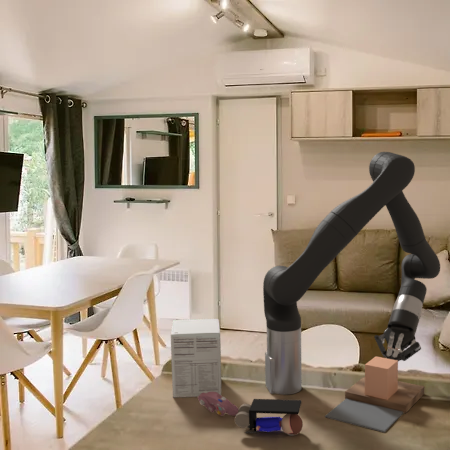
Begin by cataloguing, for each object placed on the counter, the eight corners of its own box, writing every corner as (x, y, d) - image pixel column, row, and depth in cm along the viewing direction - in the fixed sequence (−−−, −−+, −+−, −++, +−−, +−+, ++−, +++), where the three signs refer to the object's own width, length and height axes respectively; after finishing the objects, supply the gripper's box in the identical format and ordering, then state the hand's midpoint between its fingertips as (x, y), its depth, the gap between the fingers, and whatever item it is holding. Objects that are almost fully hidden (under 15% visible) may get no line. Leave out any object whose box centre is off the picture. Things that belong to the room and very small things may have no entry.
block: (375, 385, 169) (375, 356, 168) (397, 390, 166) (398, 360, 165) (364, 394, 164) (365, 364, 163) (387, 399, 160) (387, 369, 159)
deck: (366, 381, 177) (366, 374, 177) (424, 393, 168) (424, 386, 168) (345, 399, 166) (345, 391, 166) (405, 413, 157) (405, 405, 157)
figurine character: (236, 442, 147) (302, 440, 144) (232, 411, 146) (298, 408, 143) (242, 429, 154) (305, 427, 150) (237, 398, 153) (301, 396, 150)
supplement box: (222, 396, 170) (220, 332, 167) (172, 398, 169) (169, 334, 167) (220, 377, 183) (219, 318, 180) (174, 379, 182) (172, 319, 180)
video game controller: (201, 414, 163) (192, 394, 160) (212, 401, 165) (203, 382, 162) (230, 425, 156) (221, 405, 153) (241, 412, 159) (232, 392, 156)
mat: (346, 399, 166) (346, 398, 166) (403, 413, 157) (403, 411, 157) (325, 417, 156) (325, 415, 156) (384, 432, 147) (384, 430, 147)
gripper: (379, 304, 178) (360, 360, 170) (426, 311, 170) (410, 370, 162) (386, 318, 183) (368, 373, 175) (432, 325, 175) (416, 383, 167)
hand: (388, 371), depth 168 cm, fingers closed
